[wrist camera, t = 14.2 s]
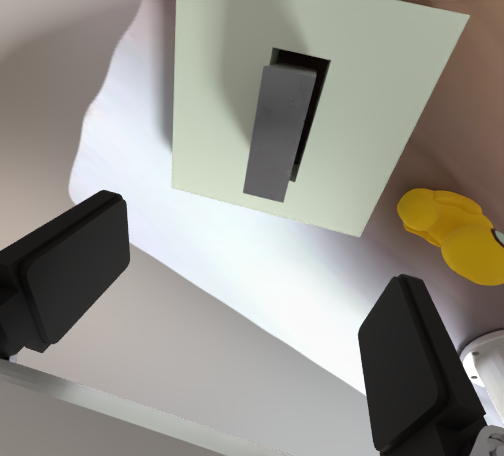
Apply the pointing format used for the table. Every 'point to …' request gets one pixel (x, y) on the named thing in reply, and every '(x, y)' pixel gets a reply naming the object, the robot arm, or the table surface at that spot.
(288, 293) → the table surface
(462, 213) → the duckling
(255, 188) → the brushed metal pillar
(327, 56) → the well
